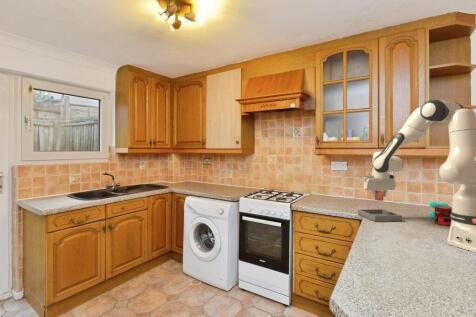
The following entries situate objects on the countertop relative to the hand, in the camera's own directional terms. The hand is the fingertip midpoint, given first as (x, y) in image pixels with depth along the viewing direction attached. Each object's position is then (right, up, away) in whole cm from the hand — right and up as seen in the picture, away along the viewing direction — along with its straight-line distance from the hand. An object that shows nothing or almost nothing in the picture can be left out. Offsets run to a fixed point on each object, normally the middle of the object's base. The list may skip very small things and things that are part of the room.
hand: (379, 196), depth 165 cm
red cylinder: (0, -2, 0) cm, 2 cm away
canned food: (+31, -15, -14) cm, 36 cm away
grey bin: (0, -14, 0) cm, 14 cm away
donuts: (+40, -15, +2) cm, 43 cm away
